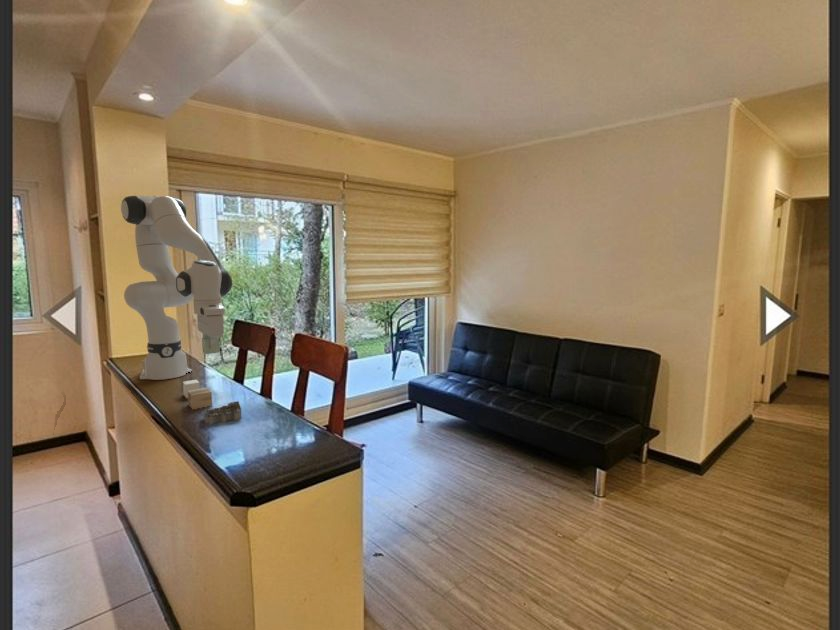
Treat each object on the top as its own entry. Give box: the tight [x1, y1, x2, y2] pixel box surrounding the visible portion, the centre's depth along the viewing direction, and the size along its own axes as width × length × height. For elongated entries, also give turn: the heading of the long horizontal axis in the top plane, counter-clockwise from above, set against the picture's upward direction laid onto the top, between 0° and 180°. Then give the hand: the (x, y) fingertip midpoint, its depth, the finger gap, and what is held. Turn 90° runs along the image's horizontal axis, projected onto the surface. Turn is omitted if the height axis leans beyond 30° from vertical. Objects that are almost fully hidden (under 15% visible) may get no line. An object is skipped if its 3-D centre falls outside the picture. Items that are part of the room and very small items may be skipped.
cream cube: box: [182, 379, 201, 399], centre depth 158 cm, size 4×4×5 cm
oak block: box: [187, 387, 213, 411], centre depth 148 cm, size 6×6×5 cm
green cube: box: [201, 337, 221, 355], centre depth 155 cm, size 4×4×5 cm
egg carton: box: [203, 400, 242, 424], centre depth 137 cm, size 11×8×4 cm
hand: (210, 347), depth 155 cm, fingers closed on green cube, 4 cm apart
